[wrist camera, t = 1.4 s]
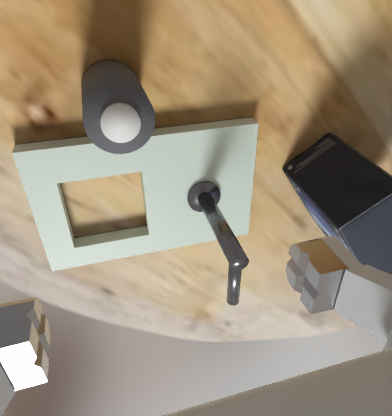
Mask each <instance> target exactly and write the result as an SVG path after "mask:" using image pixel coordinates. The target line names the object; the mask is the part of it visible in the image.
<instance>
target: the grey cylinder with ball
mask: <svg viewBox="0 0 392 416" xmlns="http://www.w3.org/2000/svg"><path fill="white" fill-rule="evenodd" d="M82 109H83V125H84V129H85V132H86V134H87V136H88V137H89V139H90V140H91V141H92V142H93V143H94V144H95V145H96V146H97V147H98V148H100V149H102V150H104V151H106V152H109V153H113V154H126V153H131V152H134V151H136V150H138V149H139V148H141V147H142V146H144V145H145V144H146V143H147V142H148V140H149V139H150V137H151V136H152V134H153V131H154V128H155V113H154V110H153V107H152V105H151V103H150V101H149V99H148V97H147V95H146V93H145V91H144V90H143V88H142V86H141V84H140V82H139V80H138V78H137V76H136V74H135V73H134V71H133V70H132V69H131V68H130V67H129V66H128V65H126V64H125V63H123V62H121V61H118V60H114V59H104V60H100V61H98V62H95V63H94V64H92V65H91V66H90V67H89V68H88V69H87V70H86V72H85V74H84V76H83V79H82Z"/></svg>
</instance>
